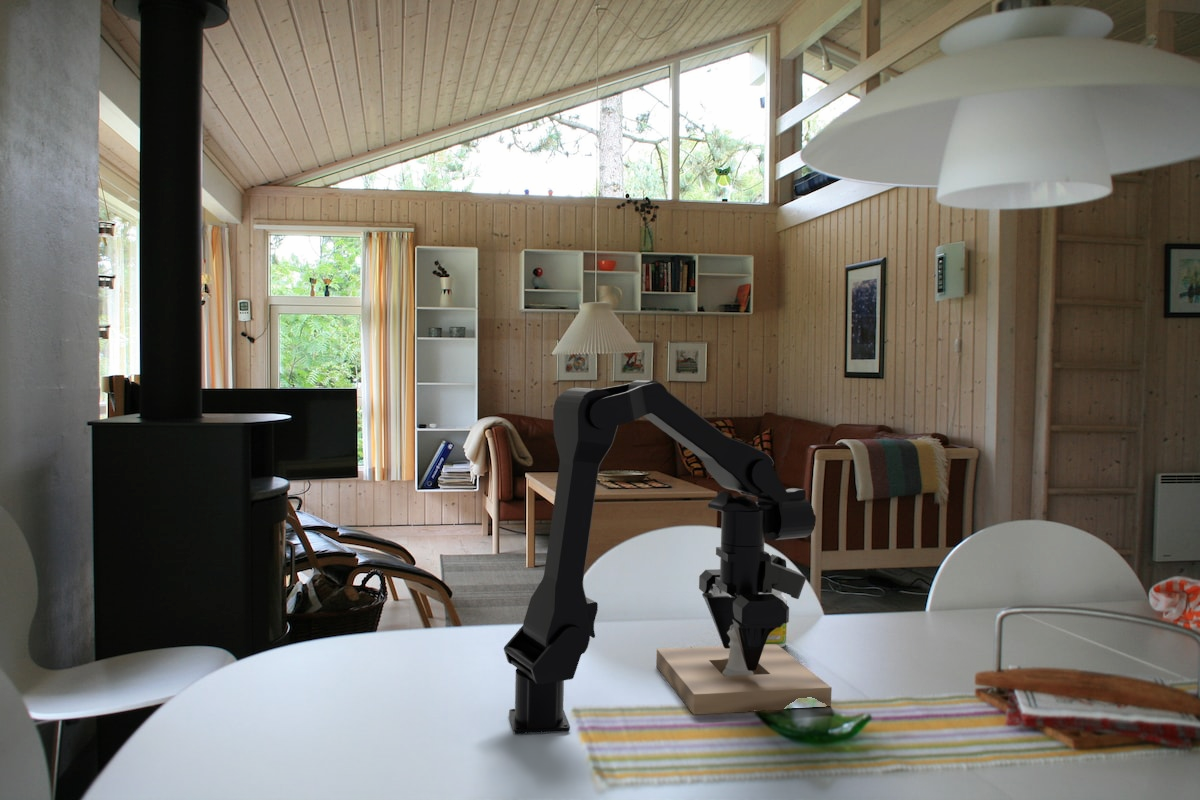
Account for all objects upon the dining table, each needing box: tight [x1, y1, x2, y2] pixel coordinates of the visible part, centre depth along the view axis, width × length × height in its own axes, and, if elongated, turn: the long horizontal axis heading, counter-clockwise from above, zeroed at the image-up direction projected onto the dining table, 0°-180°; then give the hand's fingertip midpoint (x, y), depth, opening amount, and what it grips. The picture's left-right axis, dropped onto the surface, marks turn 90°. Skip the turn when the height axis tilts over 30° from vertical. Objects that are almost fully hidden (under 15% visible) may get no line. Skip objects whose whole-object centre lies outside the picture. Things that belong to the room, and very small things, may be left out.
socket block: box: [655, 644, 833, 716], centre depth 119 cm, size 18×18×2 cm
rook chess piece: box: [722, 624, 754, 676], centre depth 119 cm, size 4×4×8 cm
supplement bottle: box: [759, 589, 788, 648], centre depth 138 cm, size 5×5×10 cm
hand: (739, 658), depth 119 cm, fingers open, 9 cm apart
